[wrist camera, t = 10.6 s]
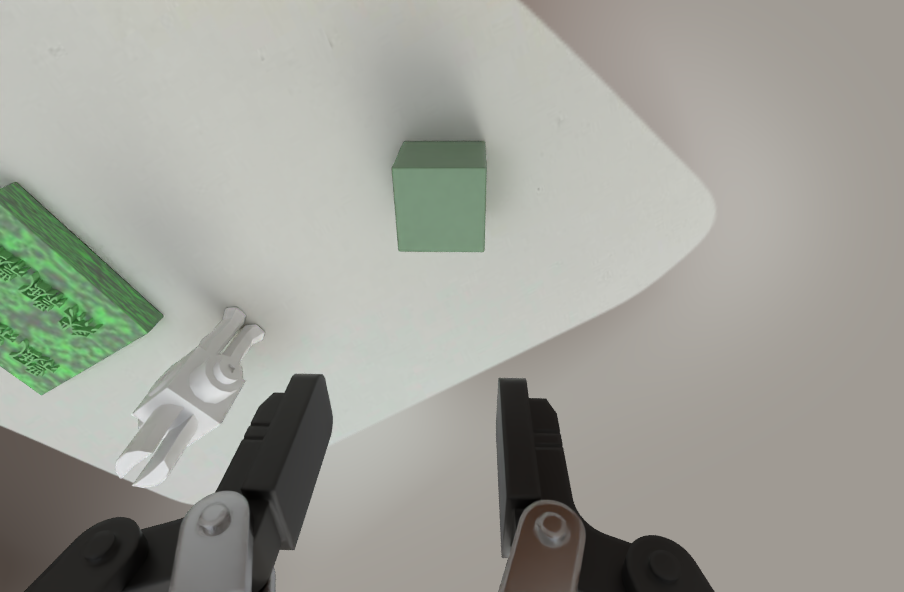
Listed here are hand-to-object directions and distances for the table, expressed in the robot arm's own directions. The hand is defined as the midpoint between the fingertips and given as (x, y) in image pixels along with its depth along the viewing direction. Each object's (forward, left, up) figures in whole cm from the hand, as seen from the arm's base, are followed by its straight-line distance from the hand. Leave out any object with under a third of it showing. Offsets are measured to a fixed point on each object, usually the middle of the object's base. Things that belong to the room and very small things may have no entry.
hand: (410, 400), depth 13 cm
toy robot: (+11, -15, -18) cm, 26 cm away
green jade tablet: (+8, -28, -18) cm, 34 cm away
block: (0, 0, -17) cm, 17 cm away
